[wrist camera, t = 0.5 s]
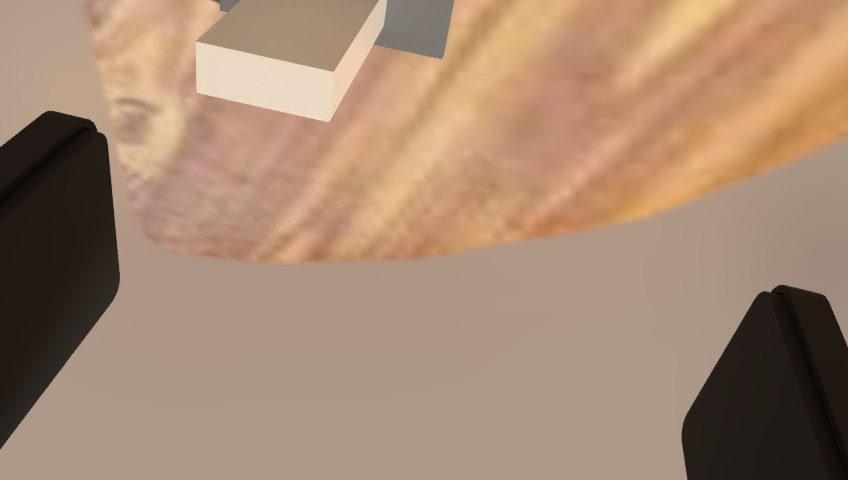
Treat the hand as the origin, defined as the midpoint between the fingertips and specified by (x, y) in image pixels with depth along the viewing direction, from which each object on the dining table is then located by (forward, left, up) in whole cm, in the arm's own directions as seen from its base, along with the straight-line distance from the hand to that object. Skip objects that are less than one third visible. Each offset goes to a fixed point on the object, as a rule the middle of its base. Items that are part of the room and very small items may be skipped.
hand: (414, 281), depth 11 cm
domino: (+6, -7, -26) cm, 27 cm away
